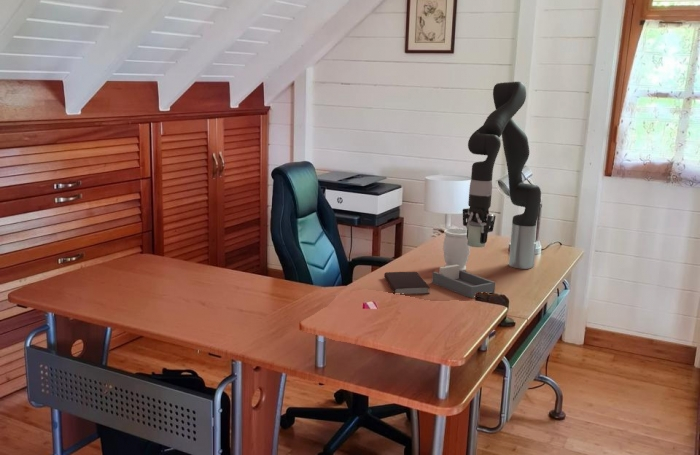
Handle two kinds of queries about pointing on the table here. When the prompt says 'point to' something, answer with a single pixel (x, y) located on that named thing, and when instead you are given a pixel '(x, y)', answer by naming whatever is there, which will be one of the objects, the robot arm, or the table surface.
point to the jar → (456, 247)
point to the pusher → (450, 271)
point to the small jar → (474, 235)
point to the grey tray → (464, 283)
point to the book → (406, 283)
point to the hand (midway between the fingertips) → (476, 241)
